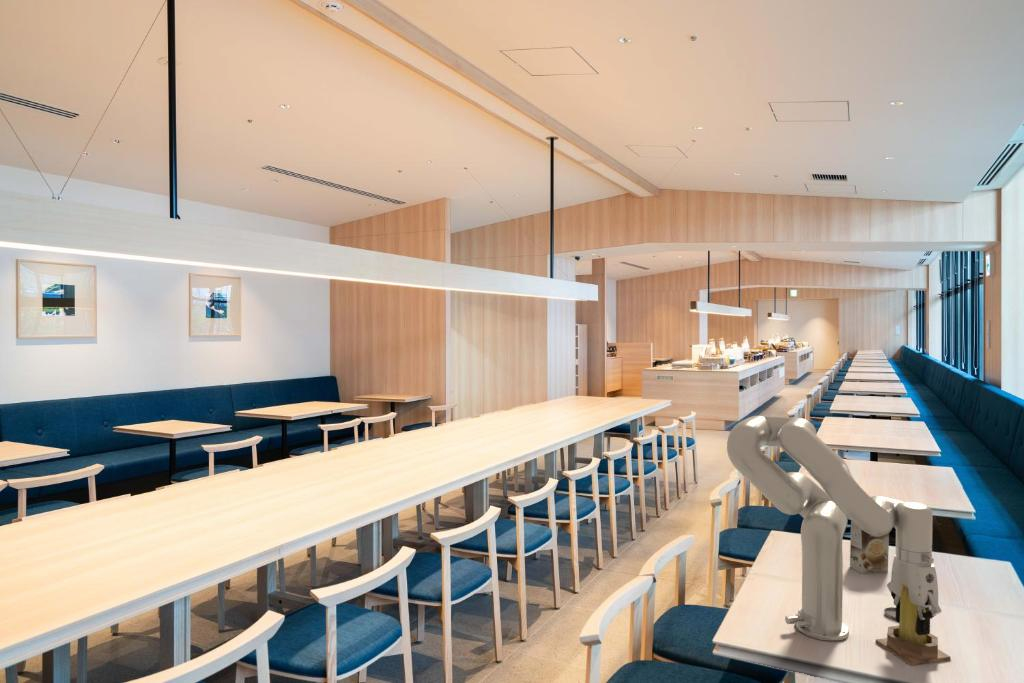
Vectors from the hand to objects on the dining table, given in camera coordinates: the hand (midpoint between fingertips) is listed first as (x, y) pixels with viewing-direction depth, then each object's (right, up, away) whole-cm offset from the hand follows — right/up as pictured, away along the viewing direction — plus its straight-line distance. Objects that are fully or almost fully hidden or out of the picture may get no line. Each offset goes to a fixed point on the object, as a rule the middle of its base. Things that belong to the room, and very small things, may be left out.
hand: (912, 627), depth 160 cm
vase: (0, -4, 0) cm, 4 cm away
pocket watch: (+8, -5, +18) cm, 21 cm away
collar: (0, -6, 0) cm, 6 cm away
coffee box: (+17, -4, +50) cm, 53 cm away
